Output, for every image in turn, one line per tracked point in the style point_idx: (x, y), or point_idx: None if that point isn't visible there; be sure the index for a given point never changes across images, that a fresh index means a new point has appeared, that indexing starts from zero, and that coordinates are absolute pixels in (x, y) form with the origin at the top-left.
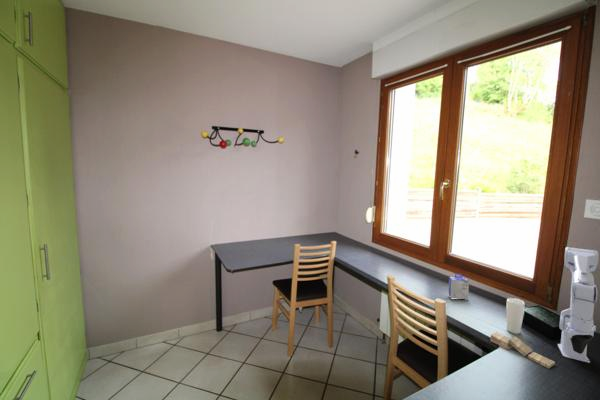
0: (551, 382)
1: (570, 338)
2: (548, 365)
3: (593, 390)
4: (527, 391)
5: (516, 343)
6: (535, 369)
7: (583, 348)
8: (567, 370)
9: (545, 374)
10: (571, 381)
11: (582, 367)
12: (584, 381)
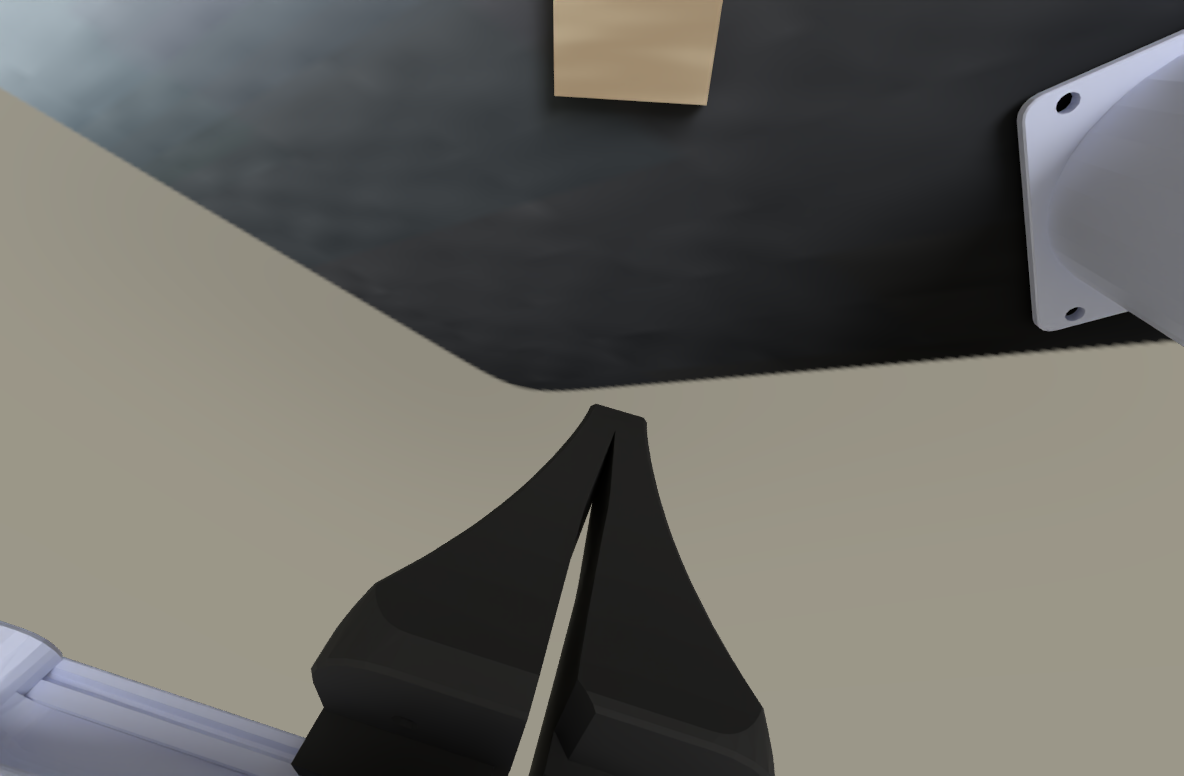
0: (372, 190)
1: (469, 532)
2: (555, 87)
3: (561, 387)
4: (95, 116)
5: None
6: (411, 4)
7: (585, 545)
8: (689, 221)
9: (429, 113)
10: (535, 282)
11: (873, 294)
12: (625, 339)
